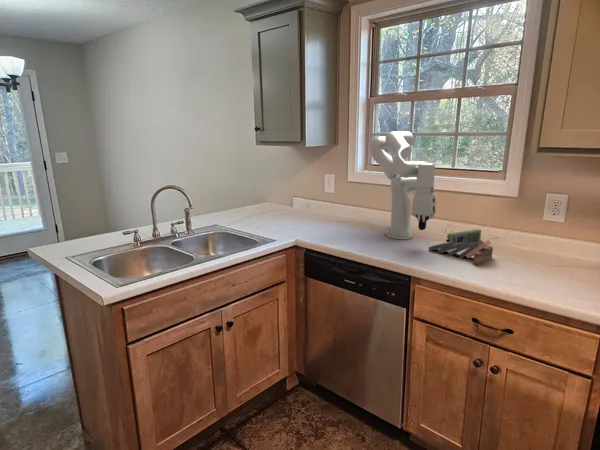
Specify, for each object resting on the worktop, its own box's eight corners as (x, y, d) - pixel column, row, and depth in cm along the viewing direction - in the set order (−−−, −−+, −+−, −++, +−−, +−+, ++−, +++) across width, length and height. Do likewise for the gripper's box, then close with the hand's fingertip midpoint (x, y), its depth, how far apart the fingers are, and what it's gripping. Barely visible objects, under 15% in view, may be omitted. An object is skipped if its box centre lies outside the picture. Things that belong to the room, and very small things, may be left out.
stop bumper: (473, 264, 160) (474, 253, 159) (486, 256, 170) (488, 245, 168) (478, 265, 159) (479, 254, 158) (491, 258, 168) (492, 246, 167)
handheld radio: (481, 243, 190) (441, 250, 181) (475, 241, 193) (436, 248, 183) (482, 230, 189) (442, 235, 179) (476, 228, 192) (437, 234, 182)
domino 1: (428, 247, 179) (448, 243, 171) (433, 245, 182) (453, 240, 175) (429, 250, 178) (449, 246, 171) (434, 248, 182) (454, 244, 174)
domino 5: (465, 255, 166) (483, 242, 160) (470, 252, 170) (488, 239, 163) (467, 258, 166) (486, 245, 159) (472, 255, 169) (491, 242, 163)
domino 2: (438, 249, 175) (458, 243, 168) (443, 247, 179) (463, 241, 171) (439, 253, 175) (459, 247, 168) (444, 250, 178) (465, 244, 171)
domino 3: (448, 252, 172) (468, 243, 165) (453, 249, 175) (473, 241, 168) (450, 255, 172) (470, 247, 165) (455, 253, 175) (474, 244, 168)
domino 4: (458, 255, 169) (476, 242, 162) (463, 252, 172) (481, 240, 165) (461, 258, 168) (479, 245, 162) (466, 255, 171) (484, 243, 165)
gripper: (444, 191, 175) (441, 230, 179) (414, 187, 186) (411, 225, 190) (436, 193, 170) (432, 234, 174) (405, 189, 181) (403, 228, 185)
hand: (421, 229), depth 182 cm, fingers closed
